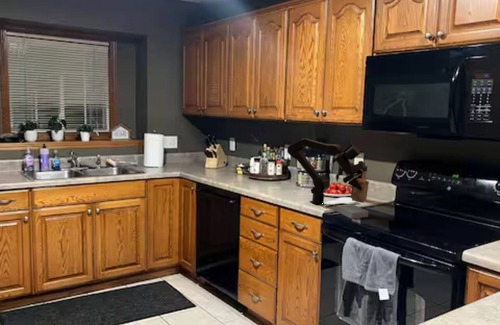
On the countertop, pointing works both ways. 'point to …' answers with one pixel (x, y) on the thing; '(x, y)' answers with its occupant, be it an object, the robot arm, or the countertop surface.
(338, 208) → the dock
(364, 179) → the cargo block
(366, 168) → the travel mug
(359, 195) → the brown cylinder
